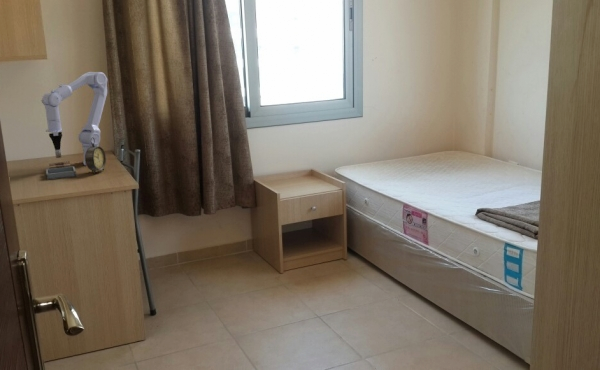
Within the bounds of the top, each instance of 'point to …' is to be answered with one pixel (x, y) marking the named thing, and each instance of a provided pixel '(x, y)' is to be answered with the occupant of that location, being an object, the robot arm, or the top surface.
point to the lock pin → (58, 153)
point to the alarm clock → (95, 158)
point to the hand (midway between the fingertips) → (57, 148)
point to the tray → (60, 173)
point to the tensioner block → (59, 165)
